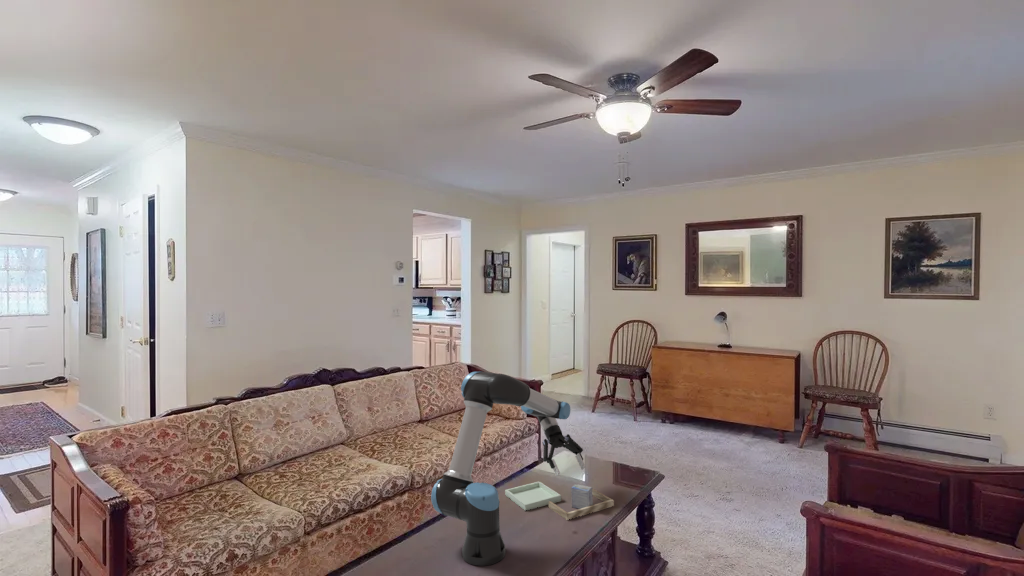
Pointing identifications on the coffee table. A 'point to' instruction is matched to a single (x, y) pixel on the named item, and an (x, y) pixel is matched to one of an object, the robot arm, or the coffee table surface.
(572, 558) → the coffee table surface
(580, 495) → the medicine box
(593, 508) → the frame
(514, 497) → the sage-green tray
